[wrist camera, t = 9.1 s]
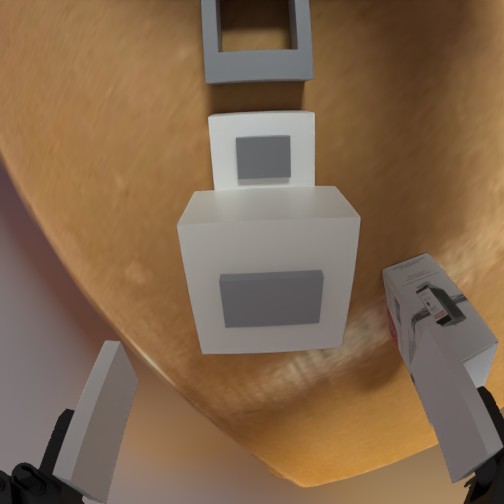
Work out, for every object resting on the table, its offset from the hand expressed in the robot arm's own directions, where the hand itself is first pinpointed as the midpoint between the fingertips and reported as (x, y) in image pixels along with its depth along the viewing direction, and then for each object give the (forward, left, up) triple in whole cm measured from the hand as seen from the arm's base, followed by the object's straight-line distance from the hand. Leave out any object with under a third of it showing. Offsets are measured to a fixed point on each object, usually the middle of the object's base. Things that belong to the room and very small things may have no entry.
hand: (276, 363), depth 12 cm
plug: (0, 0, -12) cm, 12 cm away
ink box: (+7, +13, -13) cm, 20 cm away
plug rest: (-15, 0, -12) cm, 19 cm away
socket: (0, 0, -12) cm, 12 cm away
